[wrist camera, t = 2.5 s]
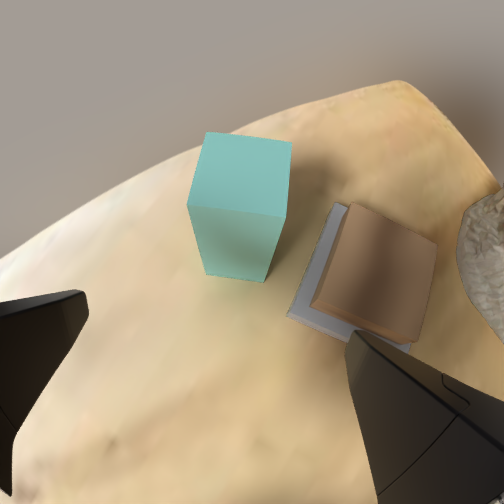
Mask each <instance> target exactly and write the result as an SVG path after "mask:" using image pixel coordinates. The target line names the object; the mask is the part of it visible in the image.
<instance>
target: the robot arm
mask: <svg viewBox="0 0 504 504" xmlns="http://www.w3.org/2000/svg"><path fill="white" fill-rule="evenodd" d="M88 316H89V309H88V304H87V298H86V294H85V292H84V291H80V290H76V289H74V290H68V291H62V292H57V293H51V294H46V295H40V296H34V297H29V298H23V299H17V300H12V301H6V302H0V490H1V491H2V492H4V493H5V494H7V495H8V496H10V497H11V496H12V450H13V442H14V439H15V436H16V434H17V432H18V431H19V429H20V427H21V426H22V424H23V422H24V421H25V419H26V417H27V416H28V414H29V412H30V411H31V409H32V407H33V406H34V404H35V402H36V401H37V399H38V398H39V396H40V394H41V393H42V391H43V390H44V388H45V387H46V385H47V384H48V382H49V381H50V379H51V377H52V376H53V374H54V373H55V371H56V370H57V368H58V367H59V365H60V364H61V363H62V361H63V360H64V358H65V357H66V355H67V354H68V352H69V351H70V349H71V348H72V346H73V345H74V343H75V341H76V339H77V337H78V335H79V334H80V332H81V330H82V328H83V326H84V325H85V323H86V321H87V319H88ZM345 361H346V368H347V374H348V381H349V388H350V392H351V396H352V400H353V403H354V407H355V410H356V414H357V418H358V421H359V425H360V429H361V433H362V437H363V441H364V444H365V448H366V452H367V456H368V461H369V465H370V469H371V473H372V477H373V482H374V486H375V490H376V495H377V500H378V504H504V402H503V401H501V400H499V399H496V398H494V397H492V396H490V395H487V394H485V393H483V392H481V391H479V390H476V389H474V388H472V387H470V386H468V385H466V384H464V383H462V382H460V381H458V380H456V379H454V378H452V377H450V376H448V375H446V374H445V373H441V372H440V371H438V370H436V369H434V368H433V367H431V366H429V365H427V364H425V363H423V362H422V361H420V360H418V359H416V358H414V357H412V356H411V355H409V354H407V353H405V352H403V351H401V350H400V349H398V348H396V347H394V346H392V345H390V344H389V343H387V342H385V341H383V340H381V339H380V338H378V337H376V336H374V335H372V334H371V333H369V332H367V331H365V330H354V331H353V332H352V333H351V336H350V339H349V341H348V344H347V346H346V349H345Z"/></svg>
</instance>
